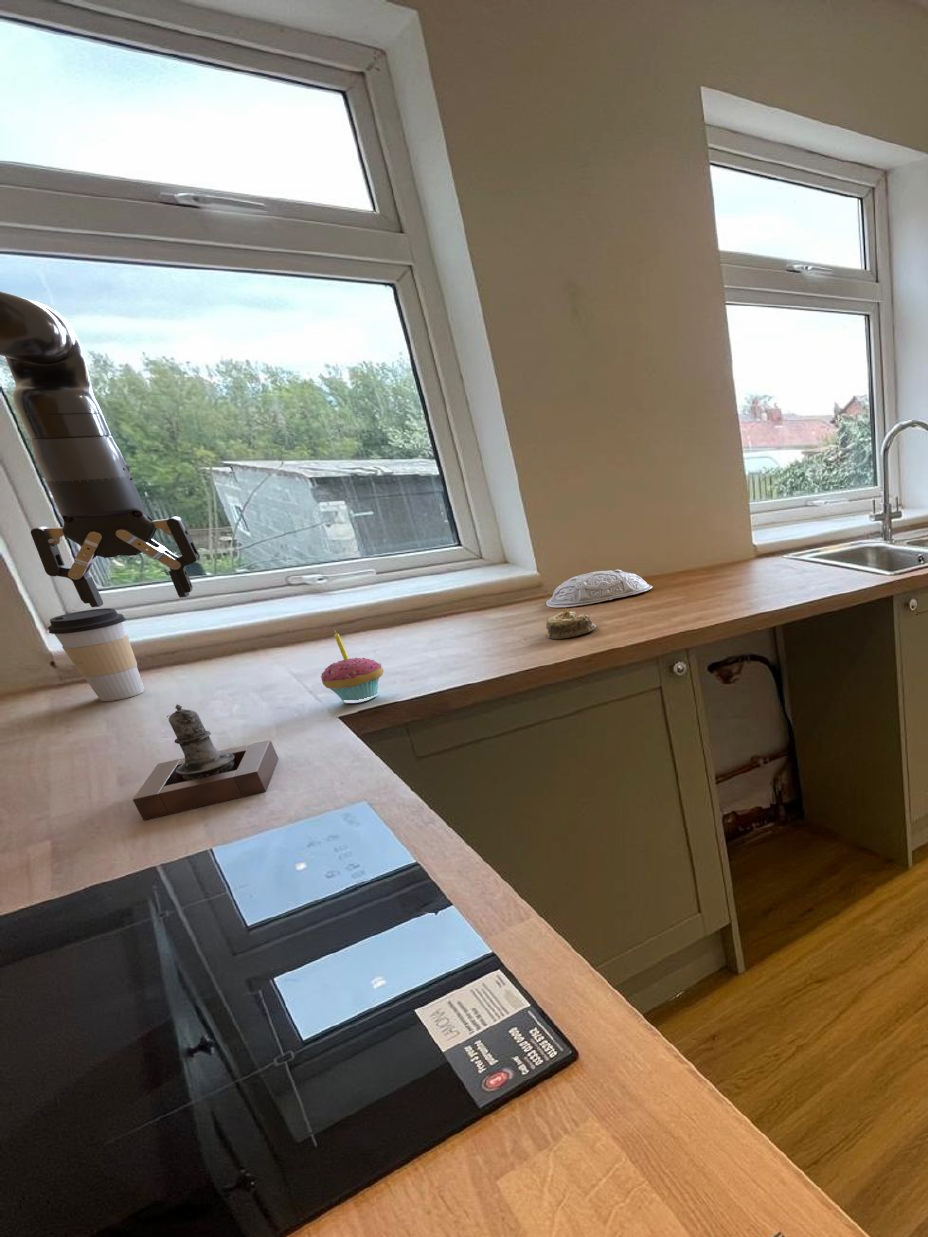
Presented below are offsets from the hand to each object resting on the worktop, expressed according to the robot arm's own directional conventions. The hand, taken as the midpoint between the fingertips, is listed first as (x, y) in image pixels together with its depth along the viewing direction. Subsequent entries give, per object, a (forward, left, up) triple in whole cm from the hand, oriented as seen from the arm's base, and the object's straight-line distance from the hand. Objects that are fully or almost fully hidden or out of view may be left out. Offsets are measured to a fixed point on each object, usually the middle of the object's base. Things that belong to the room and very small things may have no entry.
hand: (142, 601), depth 103 cm
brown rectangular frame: (+2, -13, -23) cm, 27 cm away
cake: (+53, +32, -23) cm, 66 cm away
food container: (+64, +61, -23) cm, 91 cm away
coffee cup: (-20, +46, -23) cm, 55 cm away
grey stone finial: (+2, -13, -23) cm, 27 cm away
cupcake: (+17, +14, -23) cm, 32 cm away
